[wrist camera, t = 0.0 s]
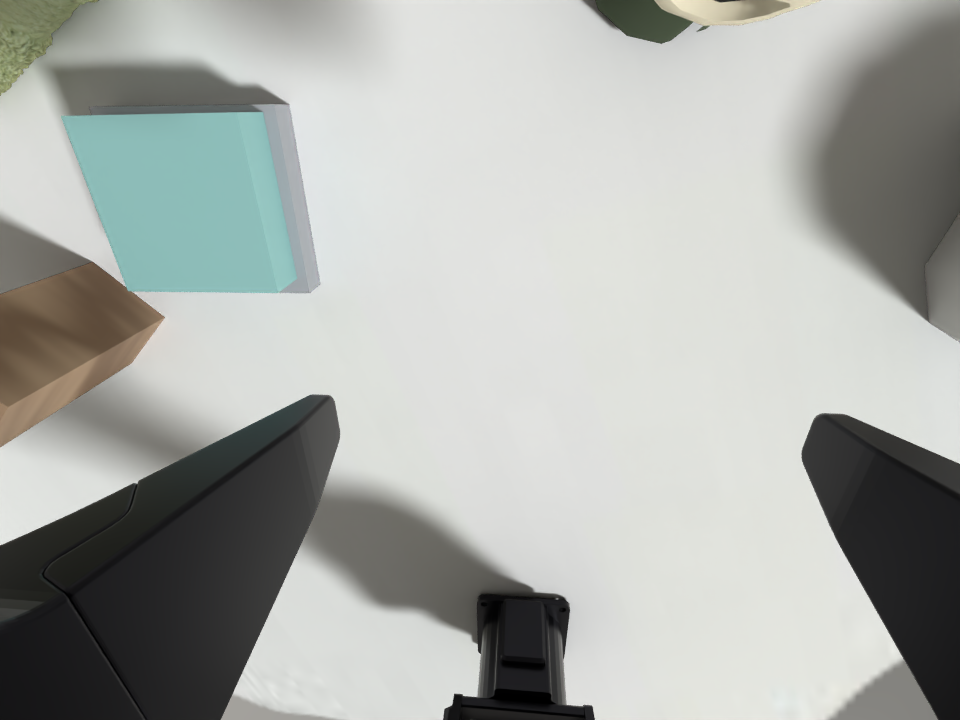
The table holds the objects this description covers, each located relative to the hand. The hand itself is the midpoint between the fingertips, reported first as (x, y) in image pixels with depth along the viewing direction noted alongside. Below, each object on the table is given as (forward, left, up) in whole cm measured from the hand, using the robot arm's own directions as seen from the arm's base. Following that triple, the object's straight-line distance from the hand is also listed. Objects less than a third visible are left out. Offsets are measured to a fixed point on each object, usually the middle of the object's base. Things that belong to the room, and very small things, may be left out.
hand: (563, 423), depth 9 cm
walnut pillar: (-4, +23, -15) cm, 28 cm away
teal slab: (+2, +15, -13) cm, 20 cm away
